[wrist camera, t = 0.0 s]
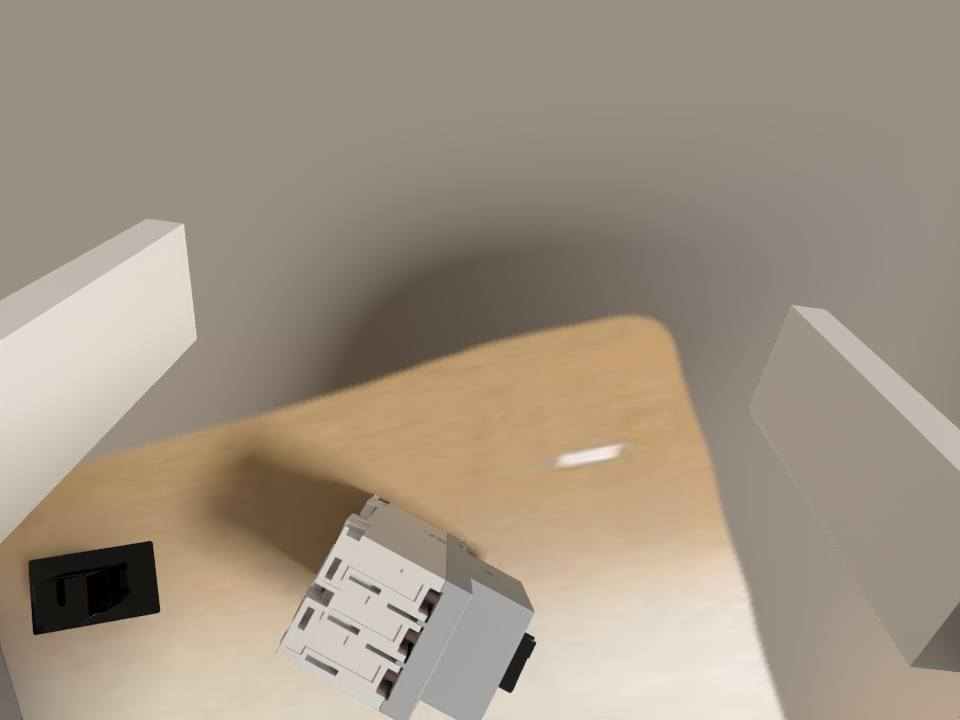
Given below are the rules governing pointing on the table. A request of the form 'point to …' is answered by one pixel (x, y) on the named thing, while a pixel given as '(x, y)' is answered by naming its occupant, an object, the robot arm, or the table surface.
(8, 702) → the gray slotted slider panel
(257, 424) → the table surface
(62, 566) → the black stepped block
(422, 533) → the circuit breaker
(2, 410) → the robot arm
